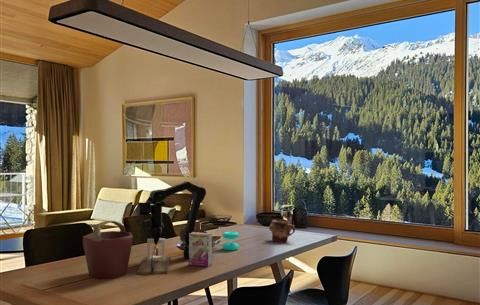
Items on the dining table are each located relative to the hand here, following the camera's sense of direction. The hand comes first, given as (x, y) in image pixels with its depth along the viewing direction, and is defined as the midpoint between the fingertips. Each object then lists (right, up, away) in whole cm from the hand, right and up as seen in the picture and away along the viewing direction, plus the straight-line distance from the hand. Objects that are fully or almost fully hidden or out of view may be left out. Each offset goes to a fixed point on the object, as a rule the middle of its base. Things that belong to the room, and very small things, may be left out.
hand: (156, 243), depth 232 cm
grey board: (+1, -10, -8) cm, 12 cm away
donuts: (+39, -10, +33) cm, 52 cm away
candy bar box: (+24, -10, -7) cm, 27 cm away
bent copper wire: (+1, -8, -9) cm, 12 cm away
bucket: (-19, -10, -24) cm, 32 cm away
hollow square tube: (0, -8, 0) cm, 8 cm away
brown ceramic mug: (+72, -11, +58) cm, 93 cm away
